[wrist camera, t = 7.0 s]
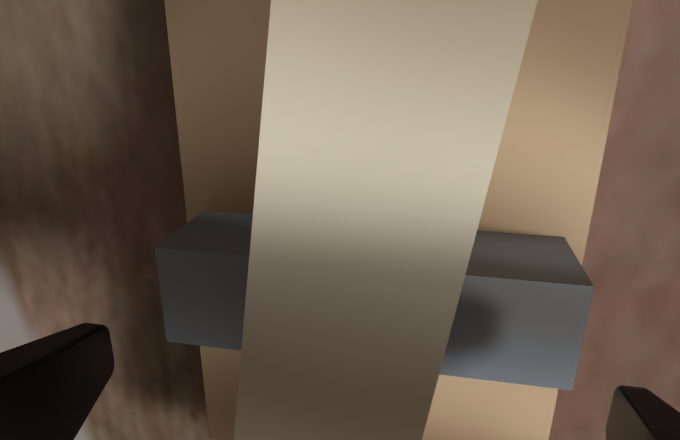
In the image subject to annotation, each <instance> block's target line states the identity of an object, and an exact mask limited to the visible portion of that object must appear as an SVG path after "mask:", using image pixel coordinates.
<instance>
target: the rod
mask: <svg viewBox="0 0 680 440" xmlns="http://www.w3.org/2000/svg"><path fill="white" fill-rule="evenodd" d="M537 1H538V0H271V6H270V18H269V30H268V42H267V53H266V65H265V77H264V89H263V101H262V112H261V124H260V136H259V148H258V160H257V171H256V183H255V195H254V207H253V219H252V230H251V242H250V254H249V266H248V278H247V289H246V301H245V313H244V325H243V337H242V348H241V360H240V372H239V384H238V396H237V407H236V419H235V431H234V440H422V437H423V434H424V430H425V426H426V422H427V418H428V415H429V411H430V407H431V403H432V399H433V396H434V392H435V388H436V384H437V381H438V377H439V373H440V369H441V365H442V362H443V358H444V354H445V350H446V346H447V343H448V339H449V335H450V331H451V327H452V324H453V320H454V316H455V312H456V309H457V305H458V301H459V297H460V293H461V290H462V286H463V282H464V278H465V274H466V271H467V267H468V263H469V259H470V255H471V252H472V248H473V244H474V240H475V236H476V233H477V229H478V225H479V221H480V218H481V214H482V210H483V206H484V202H485V199H486V195H487V191H488V187H489V183H490V180H491V176H492V172H493V168H494V164H495V161H496V157H497V153H498V149H499V145H500V142H501V138H502V134H503V130H504V127H505V123H506V119H507V115H508V111H509V108H510V104H511V100H512V96H513V92H514V89H515V85H516V81H517V77H518V73H519V70H520V66H521V62H522V58H523V54H524V51H525V47H526V43H527V39H528V36H529V32H530V28H531V24H532V20H533V17H534V13H535V9H536V5H537Z"/></svg>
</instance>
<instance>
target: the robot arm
mask: <svg viewBox="0 0 680 440" xmlns="http://www.w3.org/2000/svg"><path fill="white" fill-rule="evenodd" d="M113 369H114V356H113V350H112V345H111V339H110V333H109V330H108V328H107V327H106V326H104V325H100V324H92V323H83V324H80V325H77V326H74V327H71V328H69V329H66V330H63V331H60V332H57V333H55V334H52V335H49V336H46V337H43V338H41V339H38V340H35V341H32V342H30V343H27V344H24V345H21V346H19V347H16V348H13V349H10V350H7V351H5V352H2V353H0V440H74V438H75V436H76V435H77V433H78V432H79V430H80V428H81V426H82V425H83V423H84V421H85V420H86V418H87V416H88V414H89V413H90V411H91V409H92V408H93V406H94V404H95V403H96V401H97V399H98V397H99V396H100V394H101V392H102V391H103V389H104V387H105V385H106V384H107V382H108V380H109V379H110V377H111V375H112V372H113ZM606 440H680V412H678V411H677V410H675V409H674V408H673V407H671V406H670V405H669V404H667V403H666V402H664V401H663V400H662V399H660V398H659V397H658V396H656V395H655V394H653V393H652V392H651V391H649V390H648V389H646V388H641V387H632V386H624V385H620V386H618V387H617V388H616V390H615V391H614V395H613V399H612V403H611V407H610V411H609V416H608V420H607V424H606Z"/></svg>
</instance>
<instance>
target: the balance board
mask: <svg viewBox="0 0 680 440" xmlns="http://www.w3.org/2000/svg"><path fill="white" fill-rule="evenodd" d="M164 3H165V12H166V22H167V32H168V42H169V51H170V61H171V71H172V80H173V90H174V100H175V110H176V119H177V129H178V139H179V148H180V158H181V168H182V178H183V187H184V197H185V207H186V216H187V224H185V225H184V226H183V227H181V228H180V229H179V230H177V231H176V232H175V233H173V234H172V235H171V236H170V237H168V238H167V239H166V240H164V241H163V242H162V243H160V244H159V245H158V246H156V247H155V256H156V263H157V271H158V279H159V287H160V294H161V302H162V310H163V318H164V325H165V333H166V341H167V342H173V343H182V344H190V345H198V346H200V352H201V362H202V372H203V382H204V391H205V401H206V411H207V420H208V430H209V438H213V439H219V440H234V431H235V419H236V407H237V396H238V384H239V372H240V360H241V348H242V337H243V325H244V313H245V301H246V289H247V278H248V266H249V254H250V242H251V230H252V219H253V207H254V195H255V183H256V171H257V160H258V148H259V136H260V124H261V112H262V101H263V89H264V77H265V65H266V53H267V42H268V30H269V18H270V6H271V0H164ZM632 3H633V0H538V1H537V5H536V9H535V13H534V17H533V20H532V24H531V28H530V32H529V36H528V39H527V43H526V47H525V51H524V54H523V58H522V62H521V66H520V70H519V73H518V77H517V81H516V85H515V89H514V92H513V96H512V100H511V104H510V108H509V111H508V115H507V119H506V123H505V127H504V130H503V134H502V138H501V142H500V145H499V149H498V153H497V157H496V161H495V164H494V168H493V172H492V176H491V180H490V183H489V187H488V191H487V195H486V199H485V202H484V206H483V210H482V214H481V218H480V221H479V225H478V229H477V233H476V236H475V240H474V244H473V248H472V252H471V255H470V259H469V263H468V267H467V271H466V274H465V278H464V282H463V286H462V290H461V293H460V297H459V301H458V305H457V309H456V312H455V316H454V320H453V324H452V327H451V331H450V335H449V339H448V343H447V346H446V350H445V354H444V358H443V362H442V365H441V369H440V373H439V377H438V381H437V384H436V388H435V392H434V396H433V399H432V403H431V407H430V411H429V415H428V418H427V422H426V426H425V430H424V434H423V437H422V440H549V435H550V429H551V424H552V419H553V414H554V409H555V403H556V398H557V393H558V389H564V390H573V386H574V381H575V376H576V371H577V366H578V361H579V356H580V351H581V346H582V342H583V337H584V332H585V327H586V322H587V317H588V312H589V307H590V302H591V298H592V293H593V288H594V286H593V284H592V283H591V281H590V279H589V278H588V276H587V274H586V273H585V271H584V269H583V267H582V263H583V258H584V253H585V247H586V242H587V237H588V232H589V227H590V221H591V216H592V211H593V206H594V201H595V195H596V190H597V185H598V180H599V175H600V169H601V164H602V159H603V154H604V149H605V143H606V138H607V133H608V128H609V123H610V117H611V112H612V107H613V102H614V97H615V91H616V86H617V81H618V76H619V71H620V65H621V60H622V55H623V50H624V45H625V39H626V34H627V29H628V24H629V19H630V13H631V8H632Z"/></svg>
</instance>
